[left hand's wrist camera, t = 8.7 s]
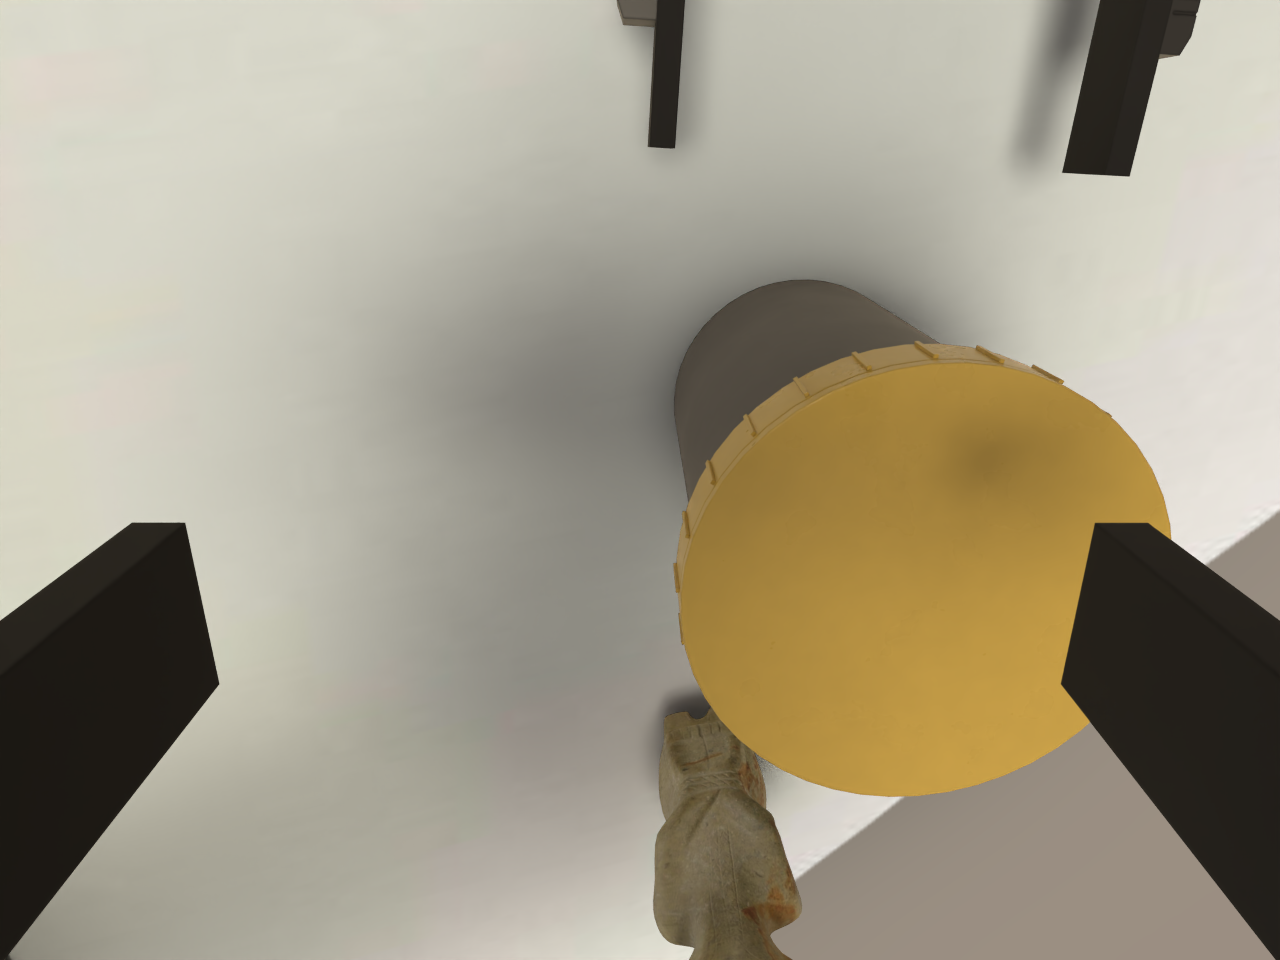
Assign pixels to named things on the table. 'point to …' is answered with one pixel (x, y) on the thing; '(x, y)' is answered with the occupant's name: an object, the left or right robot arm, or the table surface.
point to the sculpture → (718, 847)
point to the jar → (770, 356)
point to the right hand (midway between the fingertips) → (878, 162)
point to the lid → (902, 566)
